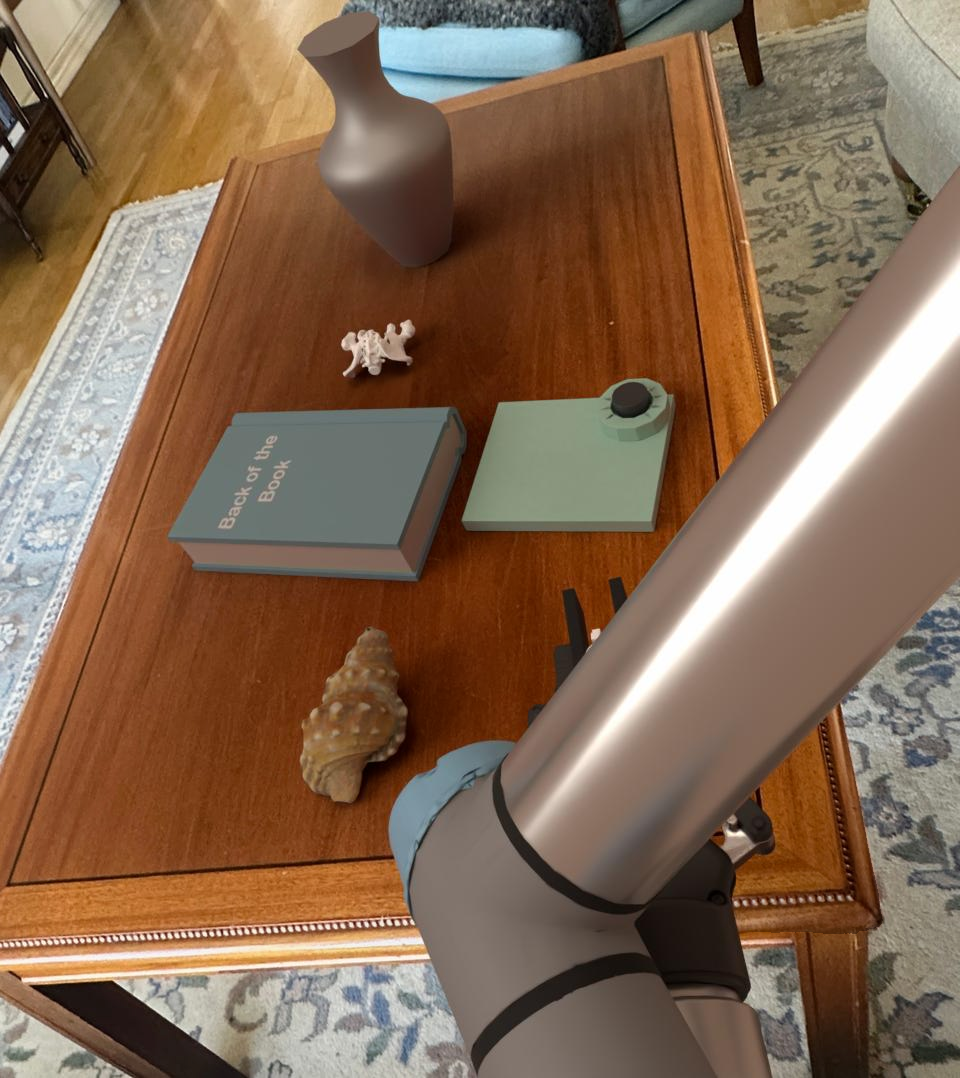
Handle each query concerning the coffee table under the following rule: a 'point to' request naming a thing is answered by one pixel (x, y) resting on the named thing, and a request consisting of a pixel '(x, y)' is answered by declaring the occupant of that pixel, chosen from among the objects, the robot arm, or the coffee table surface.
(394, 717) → the seashell
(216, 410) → the coffee table surface
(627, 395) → the button
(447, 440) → the book
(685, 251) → the coffee table surface
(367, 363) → the pelvis model
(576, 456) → the scale
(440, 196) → the vase
